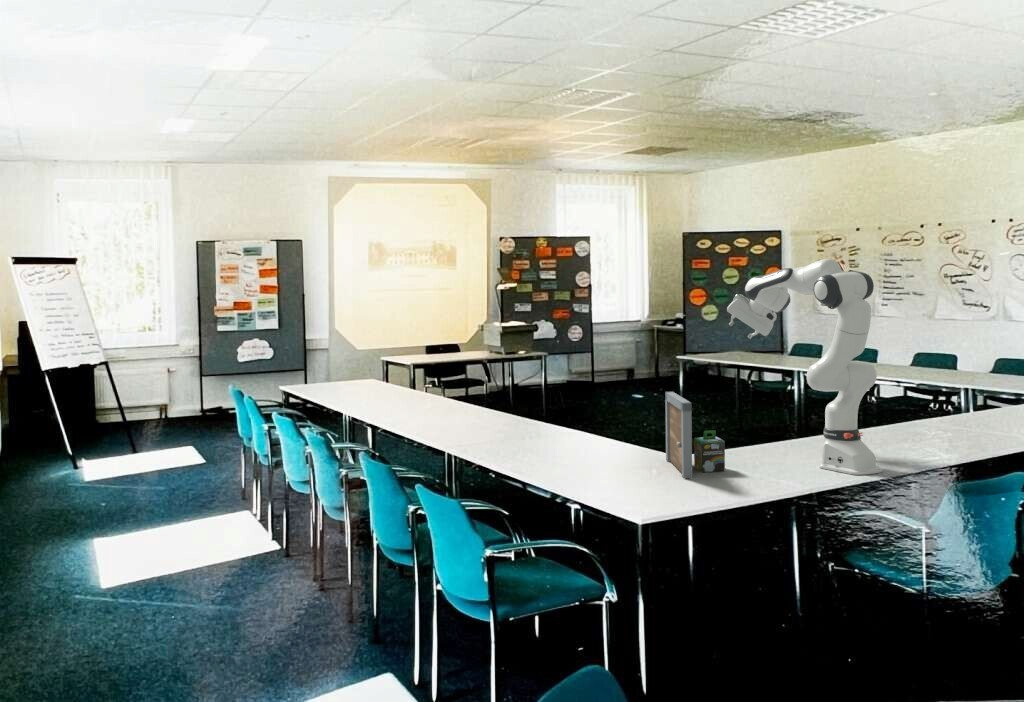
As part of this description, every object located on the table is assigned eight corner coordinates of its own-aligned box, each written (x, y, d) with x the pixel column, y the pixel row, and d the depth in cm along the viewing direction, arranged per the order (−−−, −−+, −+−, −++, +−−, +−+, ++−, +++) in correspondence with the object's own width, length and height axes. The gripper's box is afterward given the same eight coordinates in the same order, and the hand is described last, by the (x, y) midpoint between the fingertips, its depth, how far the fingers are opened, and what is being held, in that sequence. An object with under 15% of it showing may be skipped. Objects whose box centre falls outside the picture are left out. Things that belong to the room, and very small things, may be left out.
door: (674, 460, 316) (673, 402, 315) (687, 474, 293) (687, 411, 291) (666, 461, 316) (665, 402, 314) (679, 474, 293) (678, 411, 291)
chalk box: (717, 466, 308) (716, 427, 307) (725, 471, 299) (725, 431, 298) (693, 467, 307) (692, 428, 306) (701, 472, 298) (701, 432, 297)
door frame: (673, 459, 321) (672, 391, 319) (692, 478, 289) (691, 402, 287) (666, 460, 321) (665, 391, 319) (683, 478, 289) (682, 403, 287)
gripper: (737, 293, 341) (718, 319, 347) (779, 321, 339) (759, 346, 345) (738, 290, 346) (719, 315, 352) (779, 317, 344) (759, 342, 350)
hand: (739, 331), depth 348 cm, fingers open, 8 cm apart
